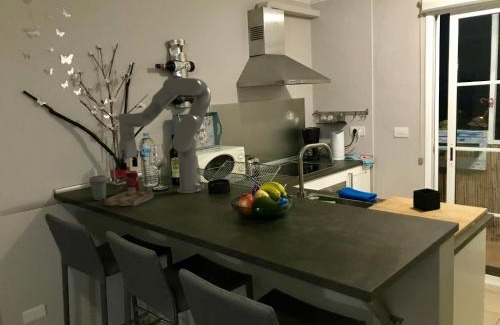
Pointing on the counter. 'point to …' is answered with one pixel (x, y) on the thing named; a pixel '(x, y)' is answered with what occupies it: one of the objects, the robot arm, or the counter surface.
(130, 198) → the tray
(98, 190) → the coffee cup
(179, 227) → the counter surface
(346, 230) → the counter surface
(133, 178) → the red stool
